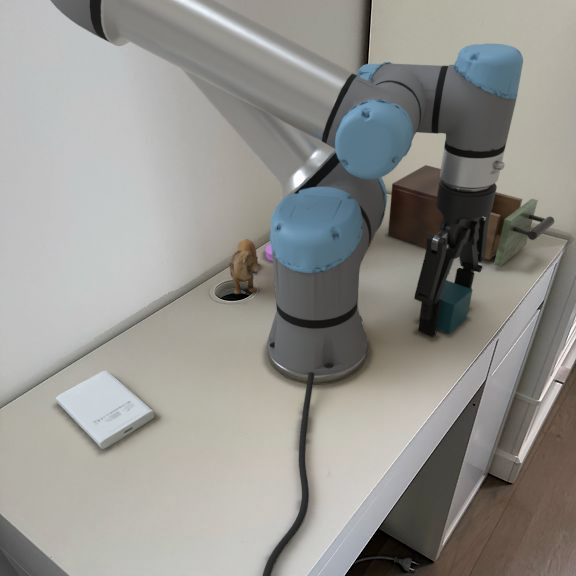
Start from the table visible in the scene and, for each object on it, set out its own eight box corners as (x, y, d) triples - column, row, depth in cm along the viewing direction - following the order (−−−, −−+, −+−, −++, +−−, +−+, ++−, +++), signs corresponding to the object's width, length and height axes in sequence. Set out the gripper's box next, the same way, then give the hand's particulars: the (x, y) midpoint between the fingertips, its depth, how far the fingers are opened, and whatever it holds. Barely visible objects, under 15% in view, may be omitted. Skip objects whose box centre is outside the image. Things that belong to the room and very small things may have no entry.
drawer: (548, 251, 100) (562, 206, 95) (522, 274, 95) (535, 228, 89) (466, 226, 109) (474, 183, 103) (438, 246, 104) (445, 202, 98)
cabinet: (477, 232, 109) (488, 180, 102) (447, 255, 103) (456, 201, 96) (419, 214, 116) (425, 164, 109) (387, 235, 110) (392, 183, 103)
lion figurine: (264, 302, 94) (260, 256, 88) (233, 305, 94) (227, 259, 88) (258, 260, 105) (254, 216, 99) (231, 263, 105) (225, 219, 99)
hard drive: (109, 377, 81) (155, 417, 74) (58, 405, 77) (102, 450, 70) (106, 368, 80) (153, 409, 73) (54, 396, 76) (99, 442, 69)
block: (466, 318, 88) (472, 289, 84) (448, 334, 85) (454, 305, 81) (436, 306, 91) (441, 277, 87) (418, 321, 88) (422, 292, 84)
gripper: (450, 217, 65) (426, 361, 80) (531, 162, 76) (497, 297, 91) (398, 201, 69) (384, 341, 84) (482, 151, 80) (457, 282, 95)
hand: (443, 318), depth 88 cm, fingers open, 9 cm apart
